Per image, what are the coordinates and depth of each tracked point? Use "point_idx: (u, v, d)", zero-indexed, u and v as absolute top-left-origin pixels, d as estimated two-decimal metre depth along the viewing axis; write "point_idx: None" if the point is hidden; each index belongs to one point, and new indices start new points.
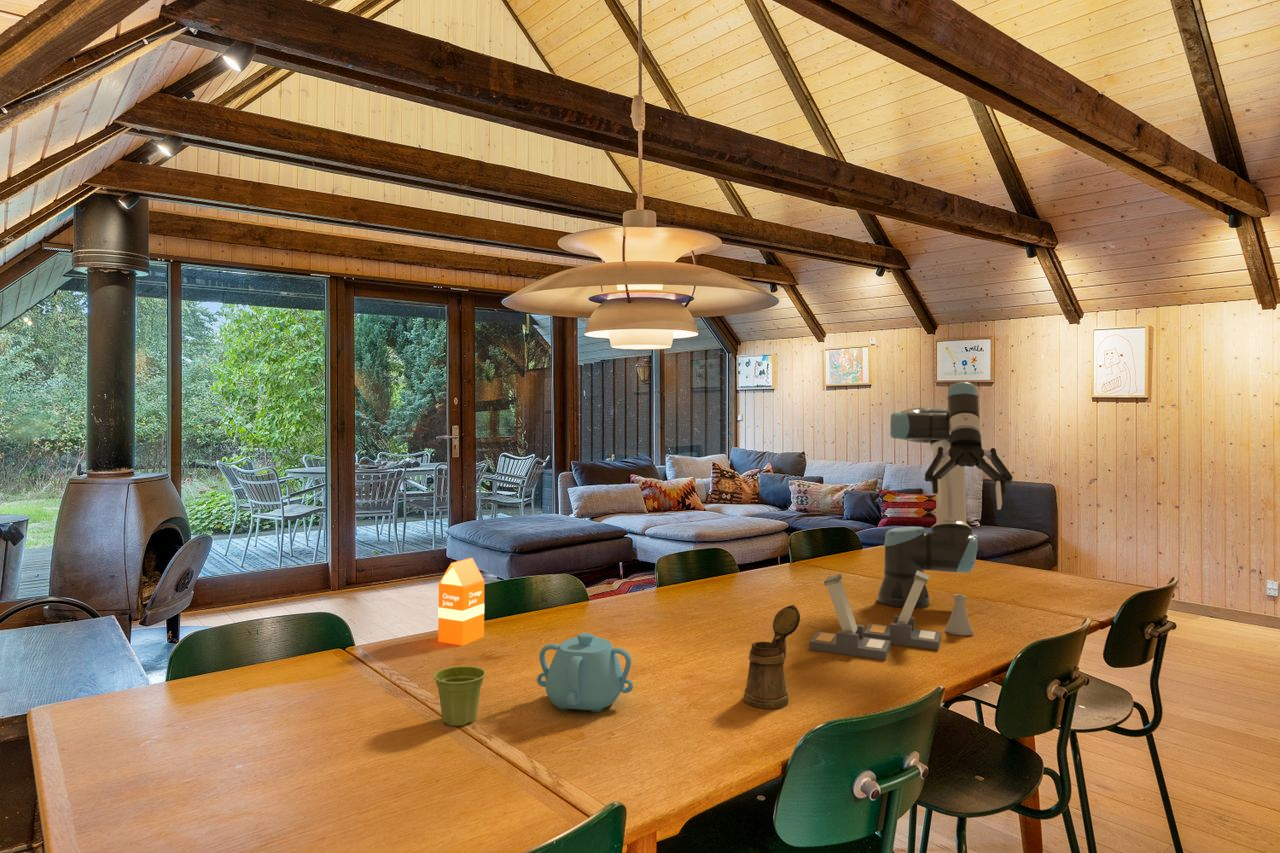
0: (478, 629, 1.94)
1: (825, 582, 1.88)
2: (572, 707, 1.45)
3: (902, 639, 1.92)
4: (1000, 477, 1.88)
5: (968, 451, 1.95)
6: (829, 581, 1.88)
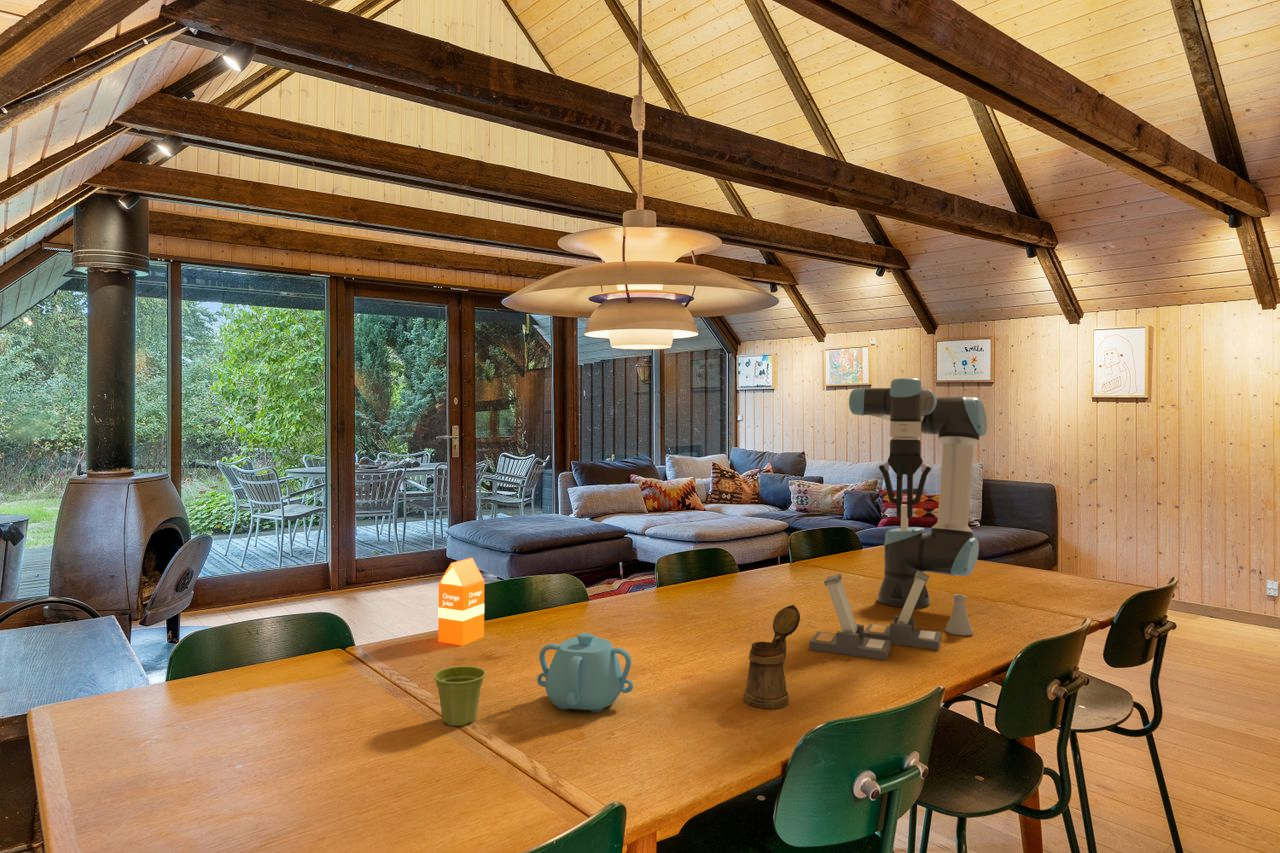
0: (478, 629, 1.94)
1: (825, 582, 1.88)
2: (572, 707, 1.45)
3: (902, 639, 1.92)
4: (909, 500, 1.95)
5: (908, 455, 1.95)
6: (829, 581, 1.88)
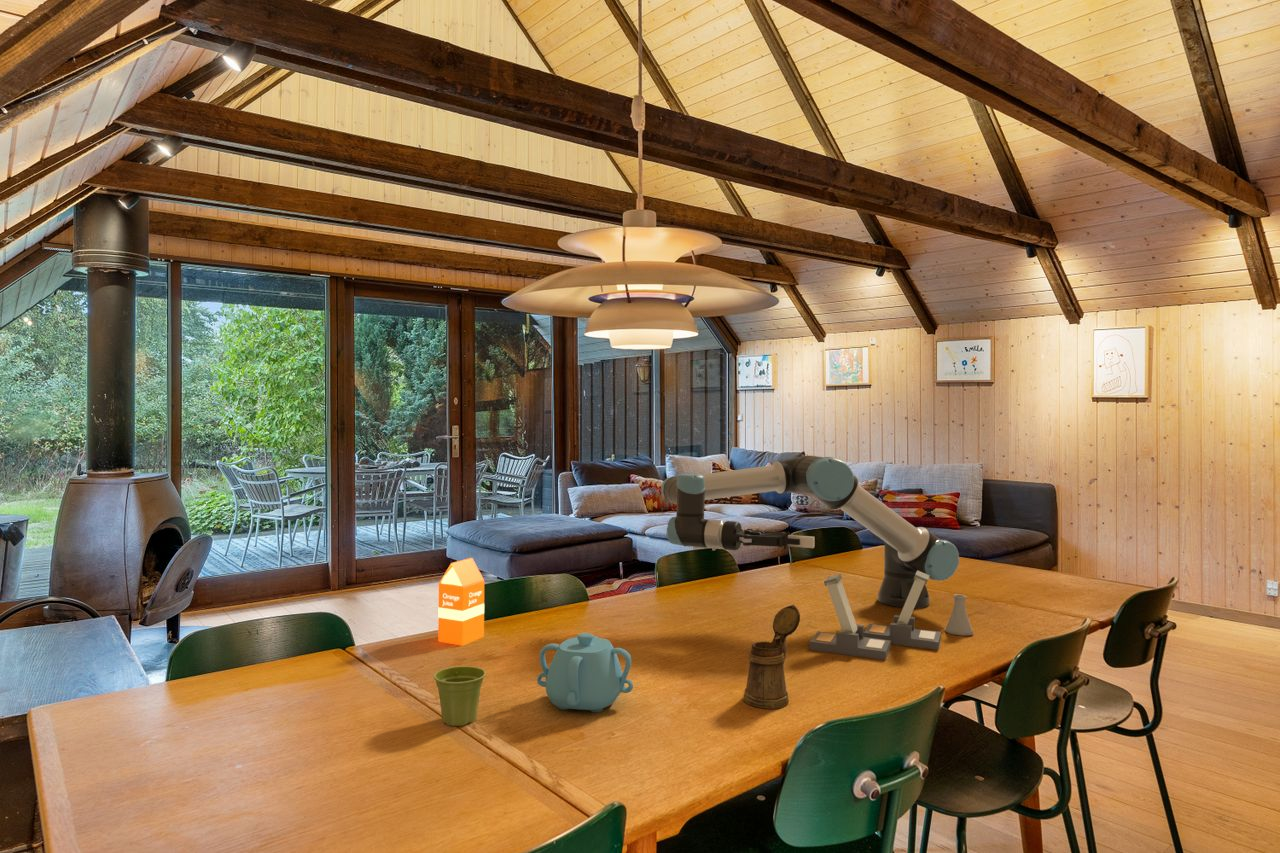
0: (478, 629, 1.94)
1: (825, 582, 1.88)
2: (572, 707, 1.45)
3: (902, 639, 1.92)
4: None
5: None
6: (829, 581, 1.88)
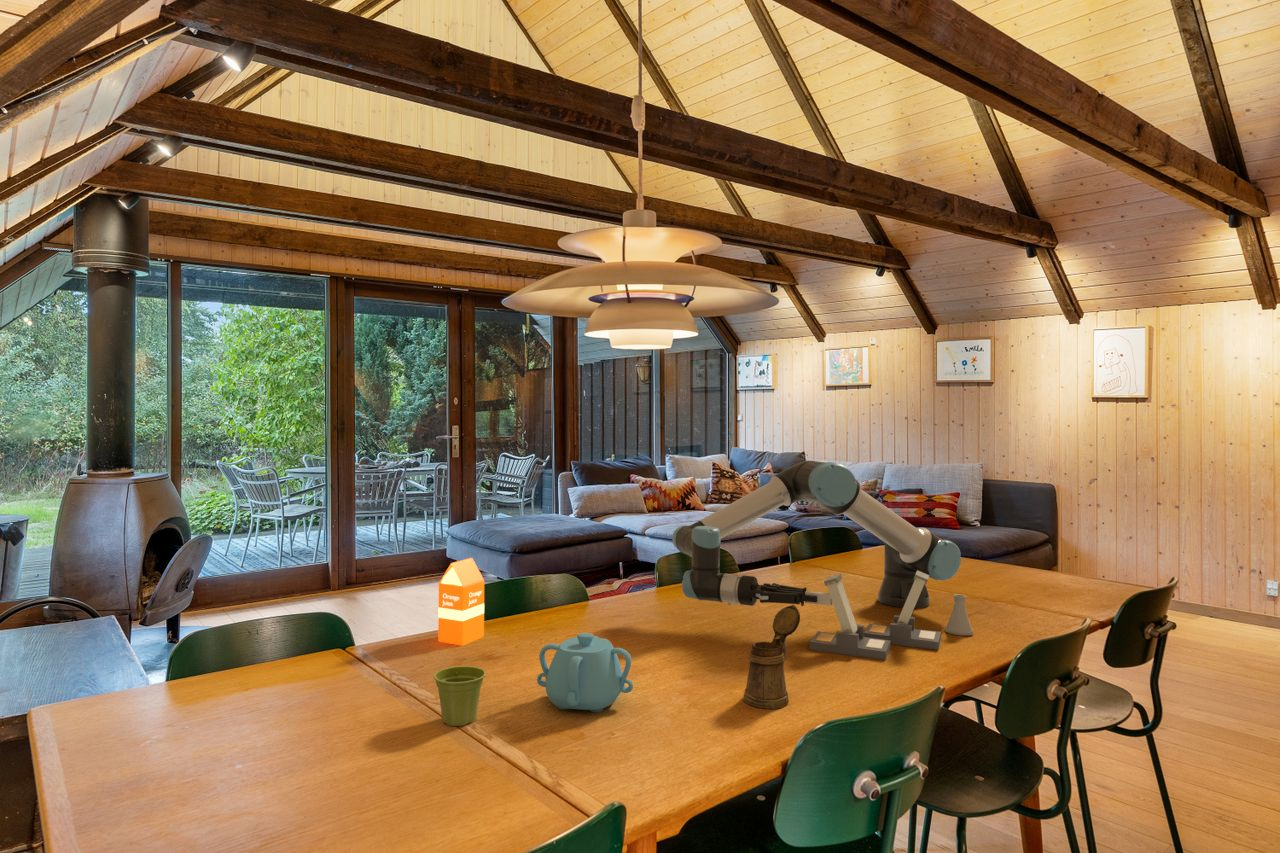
0: (478, 629, 1.94)
1: (825, 582, 1.88)
2: (572, 707, 1.45)
3: (902, 639, 1.92)
4: None
5: None
6: (829, 581, 1.88)
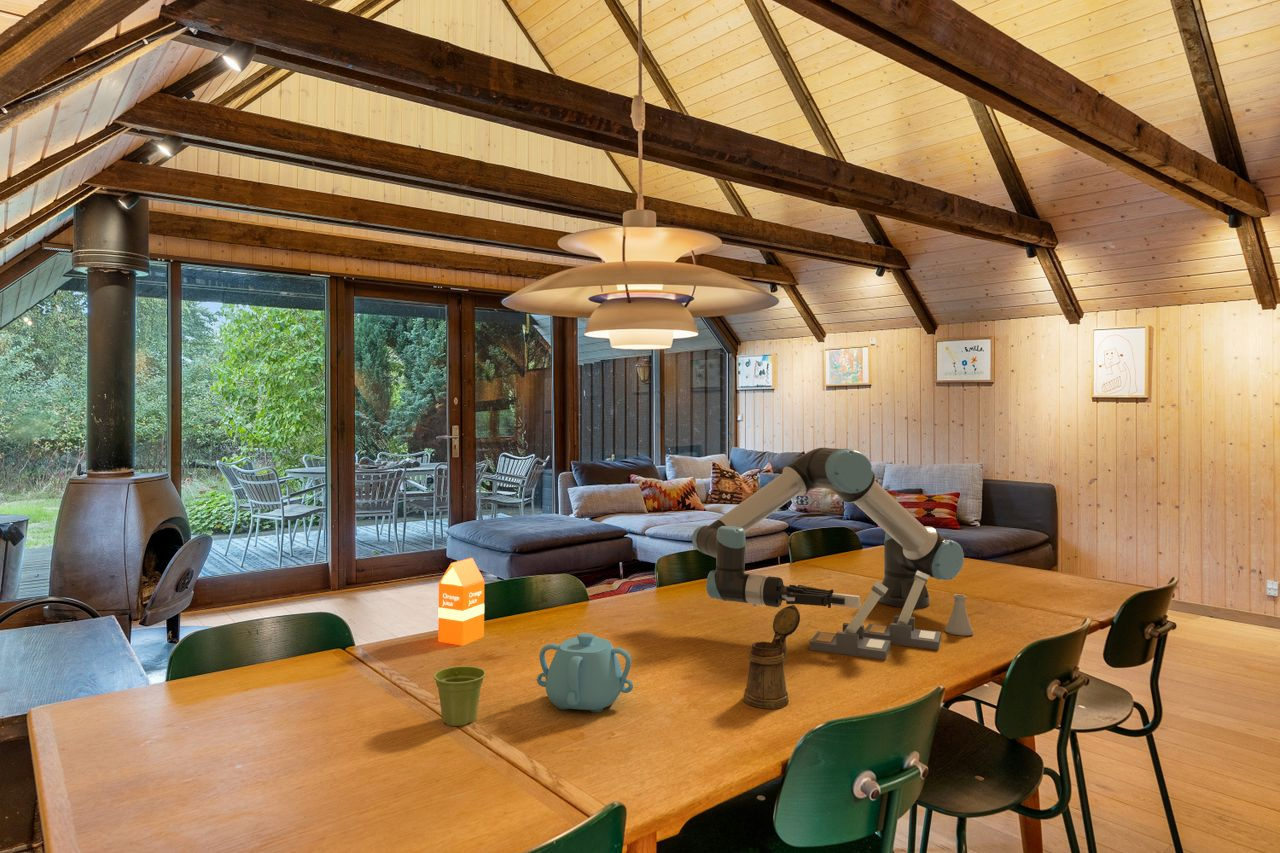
0: (478, 629, 1.94)
1: (873, 587, 1.83)
2: (572, 707, 1.45)
3: (902, 639, 1.92)
4: None
5: None
6: (877, 590, 1.83)
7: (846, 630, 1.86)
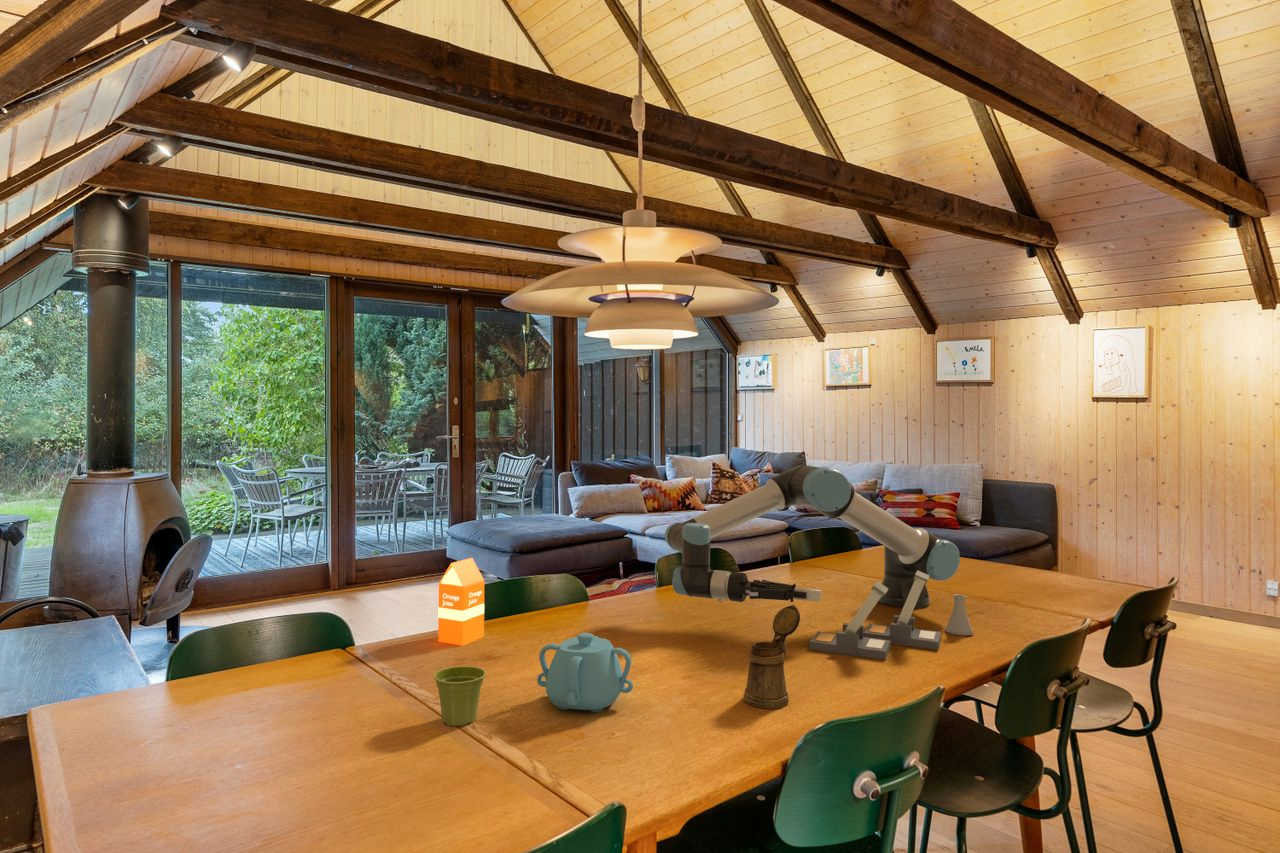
0: (478, 629, 1.94)
1: (874, 587, 1.83)
2: (572, 707, 1.45)
3: (902, 639, 1.92)
4: None
5: None
6: (877, 590, 1.83)
7: (846, 630, 1.86)
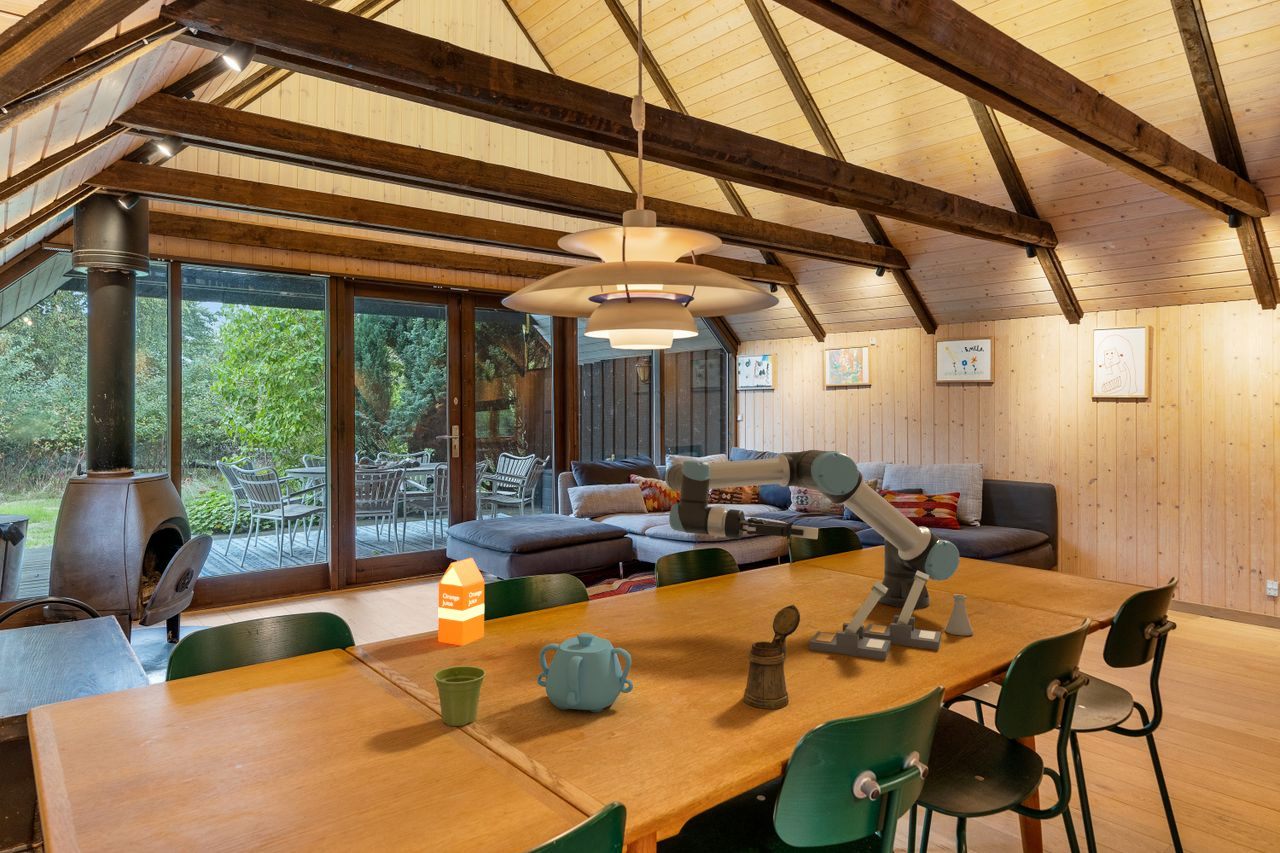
0: (478, 629, 1.94)
1: (874, 587, 1.83)
2: (572, 707, 1.45)
3: (902, 639, 1.92)
4: None
5: None
6: (877, 590, 1.83)
7: (846, 630, 1.86)
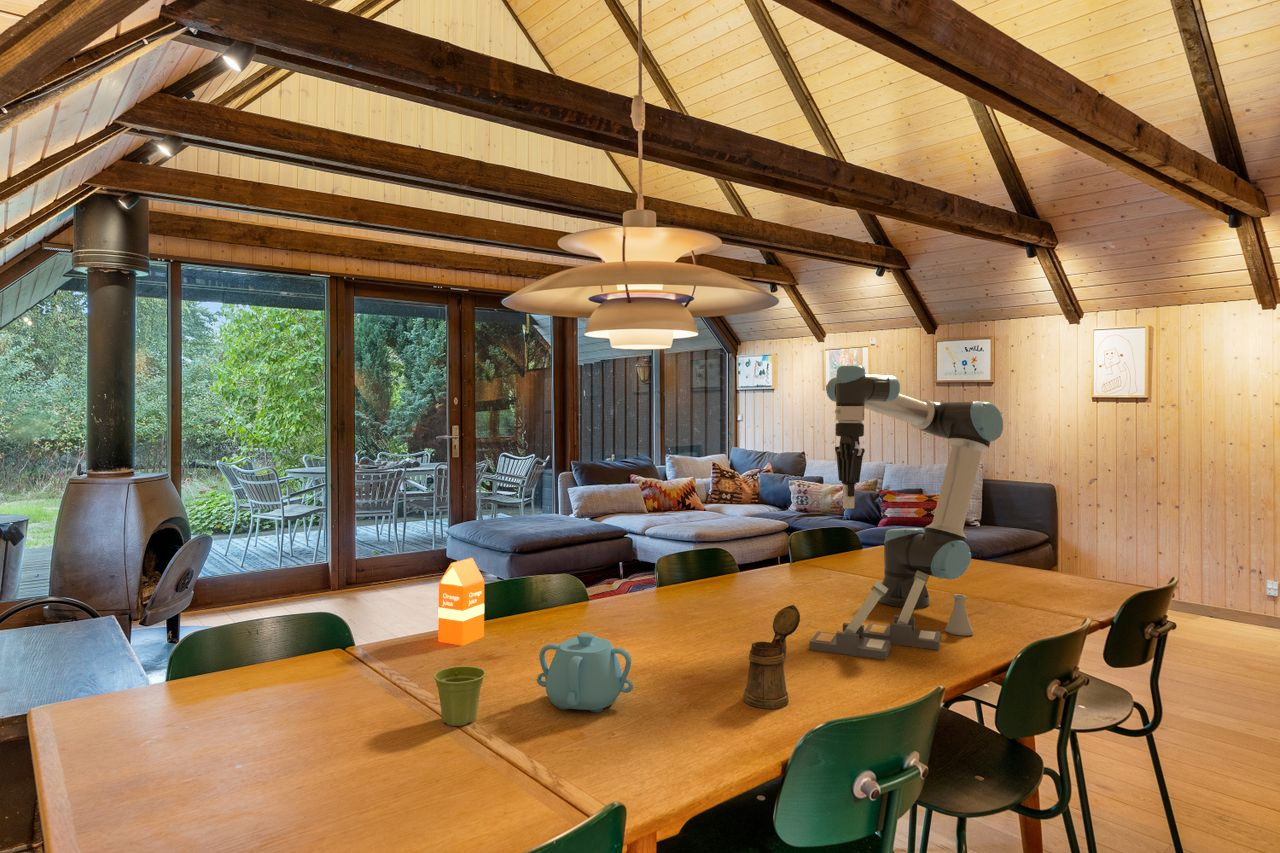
0: (478, 629, 1.94)
1: (874, 587, 1.83)
2: (572, 707, 1.45)
3: (902, 639, 1.92)
4: (847, 480, 2.08)
5: (847, 437, 2.08)
6: (877, 590, 1.83)
7: (846, 630, 1.86)
